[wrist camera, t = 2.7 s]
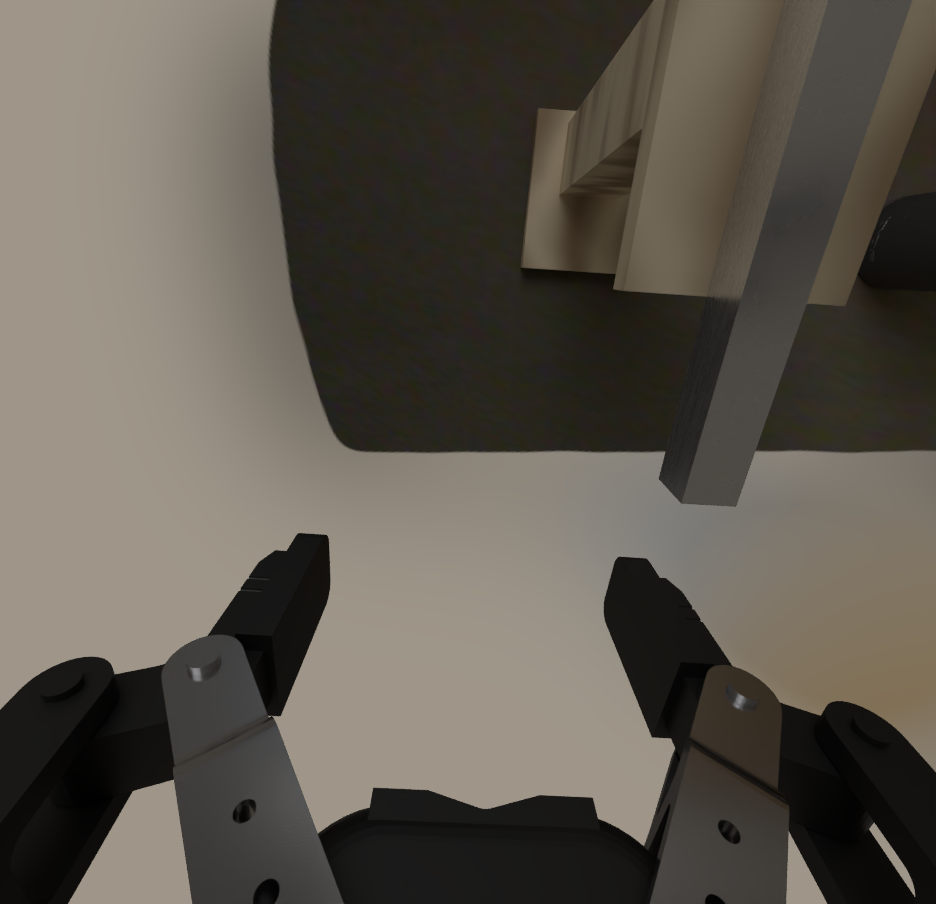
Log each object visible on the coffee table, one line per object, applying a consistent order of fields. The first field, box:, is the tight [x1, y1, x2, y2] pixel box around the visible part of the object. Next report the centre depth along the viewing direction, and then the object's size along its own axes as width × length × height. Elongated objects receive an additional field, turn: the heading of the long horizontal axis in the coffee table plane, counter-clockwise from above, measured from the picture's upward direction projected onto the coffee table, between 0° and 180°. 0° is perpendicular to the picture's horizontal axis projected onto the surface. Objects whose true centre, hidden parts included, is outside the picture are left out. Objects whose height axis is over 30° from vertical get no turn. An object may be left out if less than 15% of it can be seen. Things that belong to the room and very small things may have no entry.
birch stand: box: [521, 0, 936, 306], centre depth 31 cm, size 12×16×32 cm
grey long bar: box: [659, 0, 912, 507], centre depth 17 cm, size 3×22×3 cm, turn 176°
